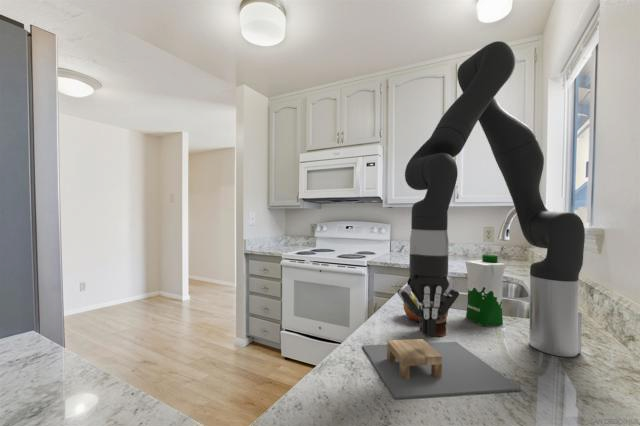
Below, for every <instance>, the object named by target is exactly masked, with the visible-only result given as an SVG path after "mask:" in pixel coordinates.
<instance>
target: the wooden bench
mask: <svg viewBox="0 0 640 426" xmlns="http://www.w3.org/2000/svg"><path fill="white" fill-rule="evenodd" d="M427 343H428V342H427V341H425V340H424V339H423V338H417V339H415V338H414V339H392V340H391V339H388V340H387V360H388V361H389V362H396V359H397V360H398V361H399V362H400V365H399V376H400V377H401V378H402V379H409V367H410V366H415V365H431V374H432V375H433V376H434V377H435V378H436V377H442V356H441V355H440V354H439V353H438V352H437V351H435V350H434V349H433V348H432V347H431V346H430V345H429V344H427Z"/></svg>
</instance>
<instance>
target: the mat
mask: <svg viewBox="0 0 640 426" xmlns="http://www.w3.org/2000/svg"><path fill="white" fill-rule="evenodd" d="M426 343H427V344H429V345H430V346H431V347H432V348H433V349H434V350H435V351H437V352H438V353H439V354H440V355H441V356H442V377H436V378H435V377H434V376H433V375H432V374H431V365H415V366H410V367H409V379H402V378H401V377H400V376H399V365H400V362H399V361H398V360H397V359H396V362H389V361H388V360H387V344H386V343H385V344H363V345H362V349H363V350H364V351H365V353H366V355H367V356H368V358H369V360H370V362H371V363H372V365H373V366H374V368H375V369H376V371H377V372H378V375H379V376H380V377H381V379H382V381H383V383H384V384H385V385H386V387H387V389H388V390H389V392H390V394H391V395H392V396H393V399H394V400H401V399H414V398H415V399H417V398H431V397H446V396H448V397H449V396H461V395H476V394H491V393H492V394H493V393H505V392H507V393H508V392H520V391H522V388H521V387H519V386H518V385H517V384H516V383H514V382H513V381H512V380H510V379H509V378H507V377H506V376H504V375H503V374H501V373H500V372H499V371H498V370H496V369H495V368H494V367H492V366H491V365H489V364H488V363H487V362H485V361H483V360H482V359H481V358H479V357H478V356H476V355H475V354H474V353H472V352H471V351H470V350H468V348H466V347H464V346H463V345H461V344H460V343H458V342H457V341H443V342H441V341H440V342H439V341H438V342H436V341H435V342H426Z"/></svg>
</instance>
